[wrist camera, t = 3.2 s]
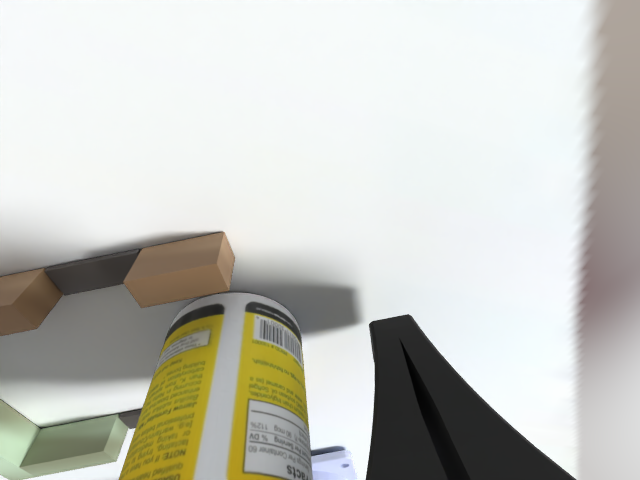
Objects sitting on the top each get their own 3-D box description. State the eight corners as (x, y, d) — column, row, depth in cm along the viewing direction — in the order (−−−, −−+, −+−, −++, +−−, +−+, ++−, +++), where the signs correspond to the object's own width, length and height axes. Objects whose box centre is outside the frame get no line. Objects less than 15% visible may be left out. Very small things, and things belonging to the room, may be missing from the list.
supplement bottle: (175, 371, 13) (65, 756, 6) (164, 283, 11) (-38, 768, 4) (294, 372, 14) (308, 713, 7) (310, 291, 12) (357, 700, 5)
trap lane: (290, 393, 15) (291, 427, 14) (34, 443, 15) (12, 481, 14) (224, 231, 10) (216, 263, 9) (-164, 309, 10) (-227, 351, 9)
